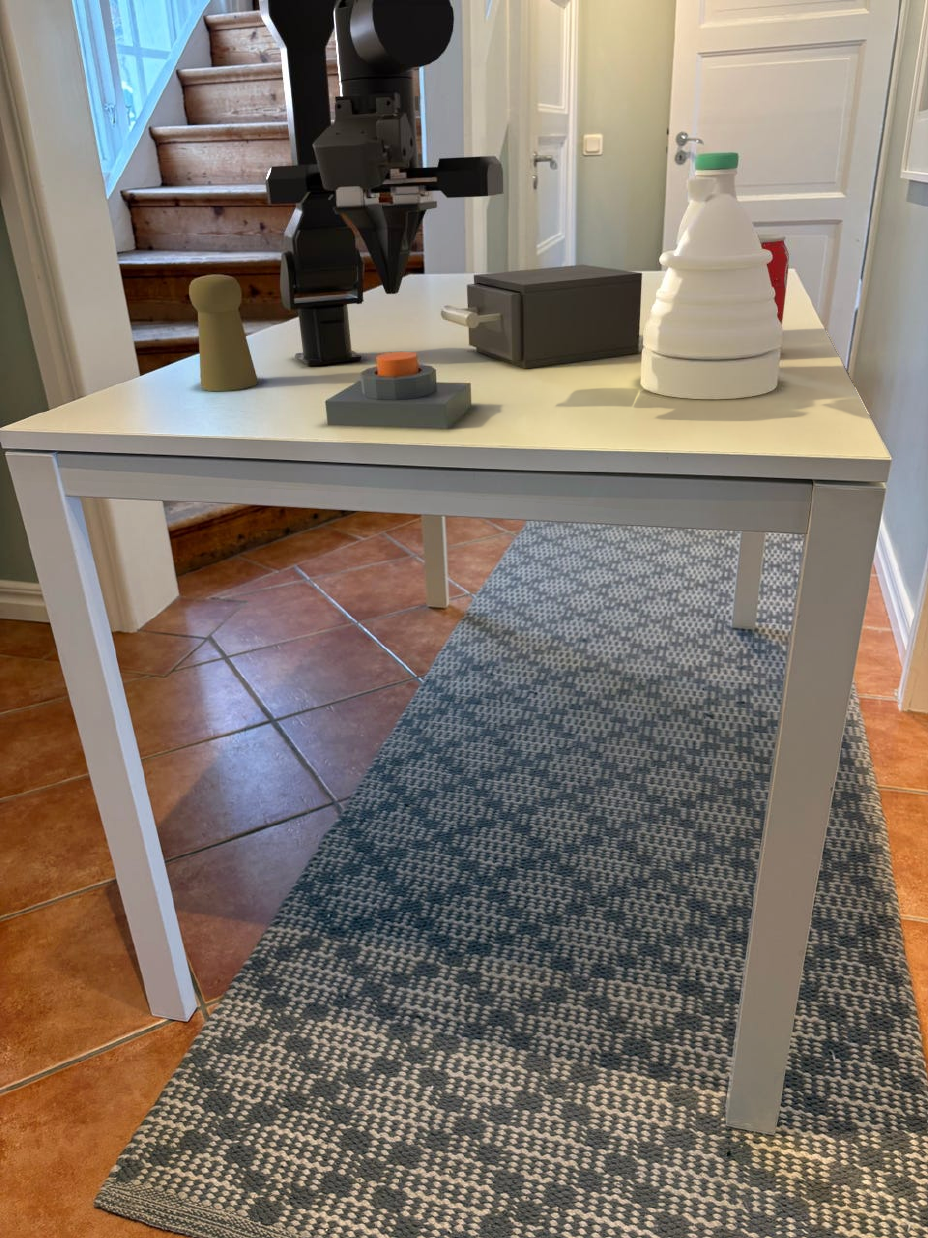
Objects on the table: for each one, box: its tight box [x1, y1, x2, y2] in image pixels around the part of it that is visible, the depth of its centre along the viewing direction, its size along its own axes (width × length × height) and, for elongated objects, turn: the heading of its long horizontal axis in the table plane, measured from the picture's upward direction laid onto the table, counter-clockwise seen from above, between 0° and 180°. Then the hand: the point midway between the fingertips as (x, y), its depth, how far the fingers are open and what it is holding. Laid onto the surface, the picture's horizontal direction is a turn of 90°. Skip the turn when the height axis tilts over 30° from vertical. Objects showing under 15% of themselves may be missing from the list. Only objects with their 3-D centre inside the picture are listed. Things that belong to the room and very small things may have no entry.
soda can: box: [757, 234, 790, 326], centre depth 96 cm, size 7×7×12 cm
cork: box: [188, 274, 259, 392], centre depth 94 cm, size 6×6×11 cm
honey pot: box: [639, 178, 784, 400], centre depth 83 cm, size 13×13×18 cm
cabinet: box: [473, 264, 643, 370], centre depth 103 cm, size 15×13×9 cm
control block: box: [324, 363, 472, 430], centre depth 80 cm, size 11×8×4 cm
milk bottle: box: [675, 151, 739, 249], centre depth 103 cm, size 8×8×20 cm
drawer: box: [440, 283, 522, 361], centre depth 101 cm, size 18×11×7 cm, turn 114°
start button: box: [375, 351, 419, 376], centre depth 79 cm, size 4×4×2 cm
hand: (392, 293), depth 77 cm, fingers closed
